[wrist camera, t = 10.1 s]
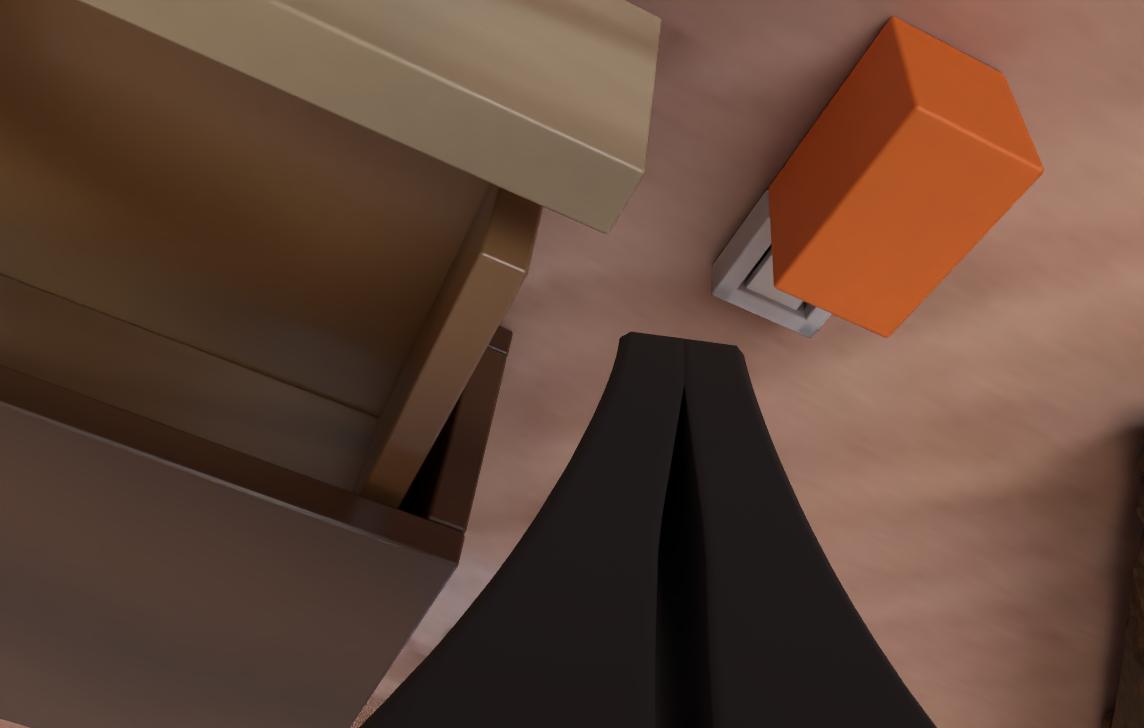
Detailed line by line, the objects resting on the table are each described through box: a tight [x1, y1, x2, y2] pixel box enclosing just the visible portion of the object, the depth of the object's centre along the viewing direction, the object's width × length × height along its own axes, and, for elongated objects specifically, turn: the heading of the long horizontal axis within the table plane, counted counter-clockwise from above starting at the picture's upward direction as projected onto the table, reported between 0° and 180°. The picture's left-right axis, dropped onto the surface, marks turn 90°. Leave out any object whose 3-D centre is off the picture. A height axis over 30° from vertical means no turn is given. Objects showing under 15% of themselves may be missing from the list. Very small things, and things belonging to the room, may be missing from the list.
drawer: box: [0, 0, 661, 509], centre depth 16 cm, size 16×12×5 cm
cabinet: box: [0, 326, 513, 728], centre depth 24 cm, size 13×14×7 cm
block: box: [712, 17, 1044, 338], centre depth 19 cm, size 6×2×3 cm, turn 156°
